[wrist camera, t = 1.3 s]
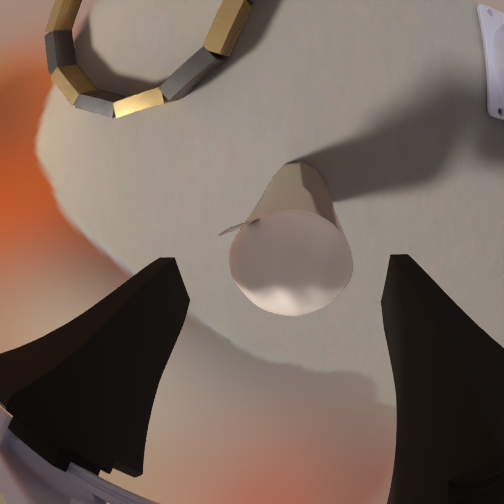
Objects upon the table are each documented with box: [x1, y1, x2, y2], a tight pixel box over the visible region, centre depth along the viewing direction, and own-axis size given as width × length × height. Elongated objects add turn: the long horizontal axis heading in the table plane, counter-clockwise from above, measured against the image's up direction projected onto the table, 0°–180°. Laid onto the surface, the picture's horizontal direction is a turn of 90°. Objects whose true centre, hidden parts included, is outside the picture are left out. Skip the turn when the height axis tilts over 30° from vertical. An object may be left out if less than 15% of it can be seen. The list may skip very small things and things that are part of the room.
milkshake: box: [219, 161, 353, 316], centre depth 12 cm, size 4×5×10 cm
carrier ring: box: [45, 0, 253, 118], centre depth 10 cm, size 14×14×2 cm
